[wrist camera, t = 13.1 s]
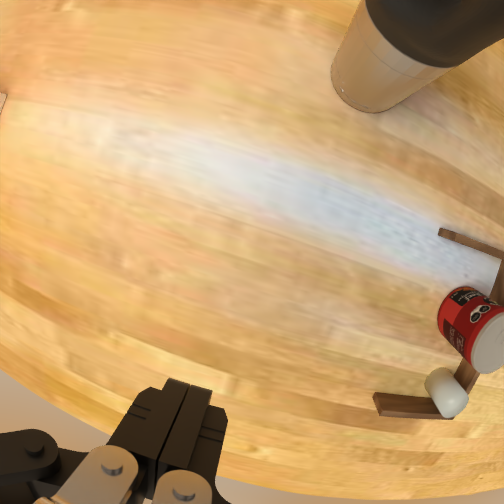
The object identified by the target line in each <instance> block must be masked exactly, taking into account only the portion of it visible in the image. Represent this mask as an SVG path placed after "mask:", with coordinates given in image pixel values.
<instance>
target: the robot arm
mask: <svg viewBox="0 0 504 504" xmlns="http://www.w3.org/2000/svg"><path fill="white" fill-rule="evenodd" d="M503 38H504V0H361V1H360V3H359V5H358V8H357V10H356V12H355V15H354V17H353V19H352V21H351V23H350V26H349V28H348V30H347V32H346V34H345V37H344V39H343V41H342V43H341V45H340V48H339V50H338V52H337V54H336V56H335V59H334V61H333V63H332V67H331V79H332V82H333V85H334V88H335V89H336V91H337V93H338V94H339V95H340V97H341V98H342V99H343V100H344V101H345V102H347V103H348V104H349V105H351V106H352V107H354V108H356V109H358V110H361V111H364V112H370V113H377V112H382V111H386V110H388V109H389V108H391V107H393V106H394V105H396V104H397V103H399V102H401V101H402V100H404V99H405V98H407V97H409V96H410V95H412V94H413V93H415V92H416V91H418V90H420V89H421V88H423V87H424V86H426V85H428V84H429V83H431V82H432V81H434V80H436V79H437V78H439V77H440V76H442V75H443V74H445V73H447V72H448V71H450V70H452V69H453V68H455V67H456V66H458V65H460V64H462V63H463V62H465V61H466V60H468V59H469V58H471V57H472V56H474V55H475V54H477V53H478V52H480V51H482V50H483V49H485V48H487V47H488V46H490V45H492V44H493V43H495V42H497V41H499V40H501V39H503ZM211 395H212V390H209V389H205V388H202V387H198V386H195V385H191V386H190V384H188V383H184V382H181V381H178V380H175V379H172V378H169V379H168V380H167V382H166V383H165V385H164V387H163V389H162V391H161V390H158V389H156V388H153V387H149V388H147V389H145V390H144V391H142V392H140V393H139V394H138V395H137V397H136V399H135V400H134V402H133V403H132V405H131V406H130V408H129V410H128V411H127V414H125V416H124V417H123V419H122V421H121V422H120V424H119V425H118V427H117V428H116V430H115V432H114V433H113V435H112V436H111V438H110V439H109V441H108V443H107V444H106V445H104V446H99V447H96V448H94V449H93V450H91V452H76V451H72V450H67V449H62V448H58V446H57V443H56V441H55V440H54V439H53V438H52V437H51V436H50V435H49V434H47V433H46V432H44V431H41V430H37V429H27V430H21V431H15V432H8V433H0V504H142V503H143V501H144V499H145V498H147V499H150V500H152V504H231V503H229V502H228V501H226V500H225V499H224V498H223V497H222V496H221V495H220V494H219V492H218V491H217V489H216V486H215V476H216V472H217V467H218V463H219V459H220V454H221V450H222V445H223V441H224V436H225V432H226V427H227V423H228V419H227V416H226V413H225V410H224V409H223V408H219V407H215V406H212V405H209V404H210V400H211Z"/></svg>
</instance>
